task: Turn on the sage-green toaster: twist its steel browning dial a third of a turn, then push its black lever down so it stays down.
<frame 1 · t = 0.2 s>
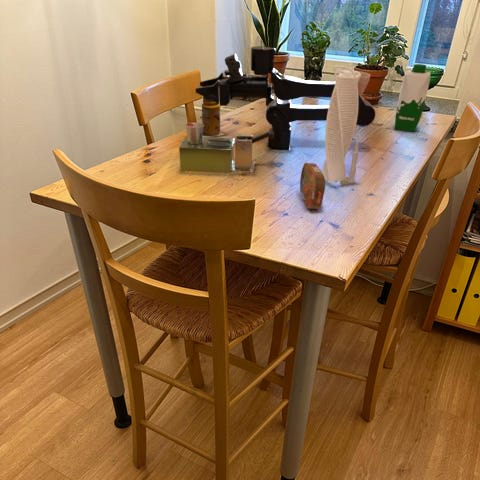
hand: (197, 87, 137), 17 cm above the table, tool horizontal, fingers open, 9 cm apart
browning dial: (194, 132, 126), point 9 cm above the table, hinge at 0.0°
toaster slots: (218, 168, 131), resting on toaster
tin: (310, 202, 114), on the table
condiment: (209, 134, 157), on the table
toaster: (208, 167, 131), on the table
toaster lever: (256, 139, 125), point 8 cm above the table, hinge at 24.0°
milk carton: (405, 129, 167), on the table
lever bracket: (243, 169, 131), on the table
ceramic jug: (347, 114, 181), on the table
skyscraper: (333, 181, 126), on the table
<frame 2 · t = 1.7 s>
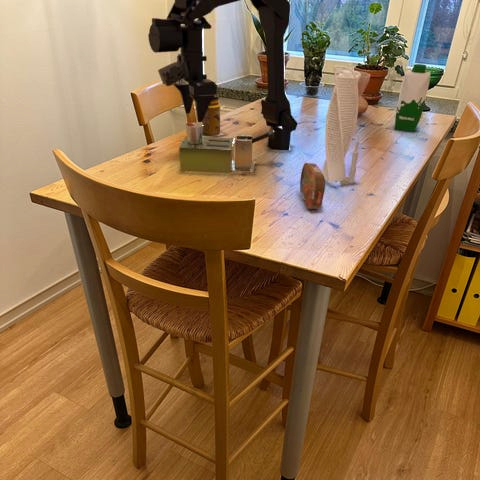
hand: (193, 117, 123), 13 cm above the table, tool pointing down, fingers open, 9 cm apart
nothing on the table moved.
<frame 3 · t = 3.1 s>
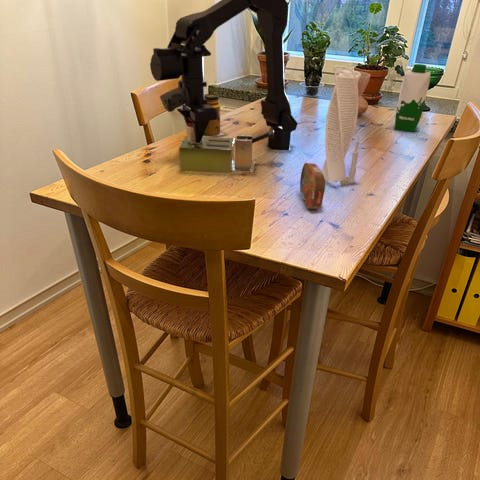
hand: (194, 140, 127), 8 cm above the table, tool pointing down, fingers closed on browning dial, 4 cm apart
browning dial: (194, 132, 126), point 9 cm above the table, hinge at 0.0°, touching gripper
everything else where it was.
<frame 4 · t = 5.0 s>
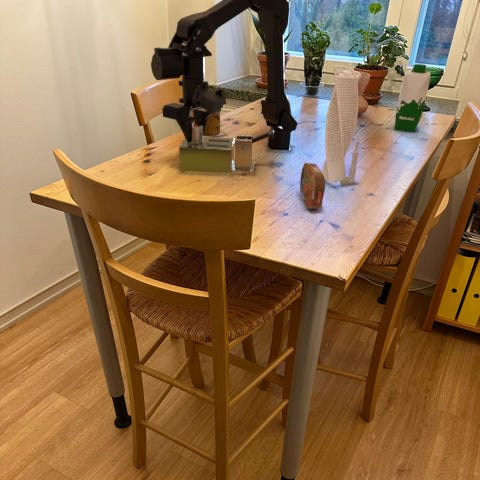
hand: (194, 140, 127), 7 cm above the table, tool pointing down, fingers closed on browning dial, 4 cm apart
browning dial: (194, 132, 126), point 9 cm above the table, hinge at 120.6°, touching gripper
everything else where it was.
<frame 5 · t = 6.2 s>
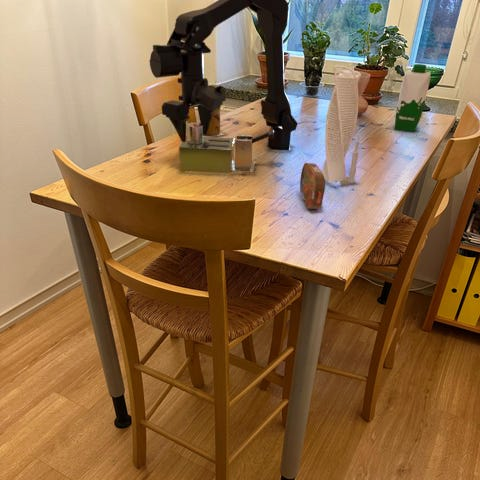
hand: (194, 137, 126), 8 cm above the table, tool pointing down, fingers open, 9 cm apart
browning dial: (194, 132, 126), point 9 cm above the table, hinge at 120.5°
everything else where it was.
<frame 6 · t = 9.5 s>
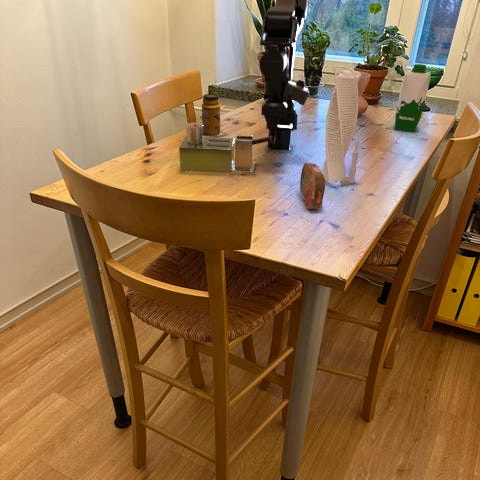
hand: (272, 135, 124), 10 cm above the table, tool pointing down, fingers closed, pressing on toaster lever
toaster lever: (256, 141, 126), point 8 cm above the table, hinge at 14.2°, touching gripper
everything else where it was.
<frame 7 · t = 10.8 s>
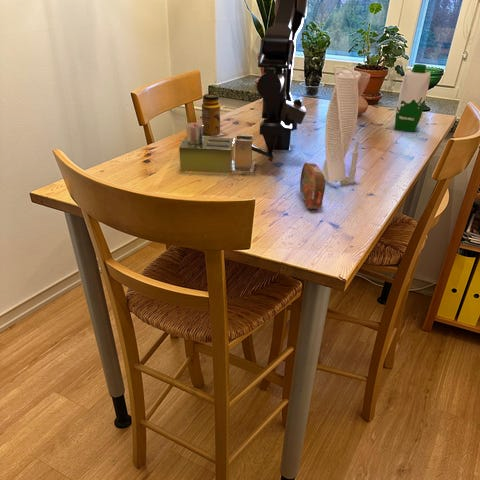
hand: (270, 152, 127), 5 cm above the table, tool pointing down, fingers closed, pressing on toaster lever
toaster lever: (256, 149, 127), point 6 cm above the table, hinge at -19.6°, touching gripper
everything else where it was.
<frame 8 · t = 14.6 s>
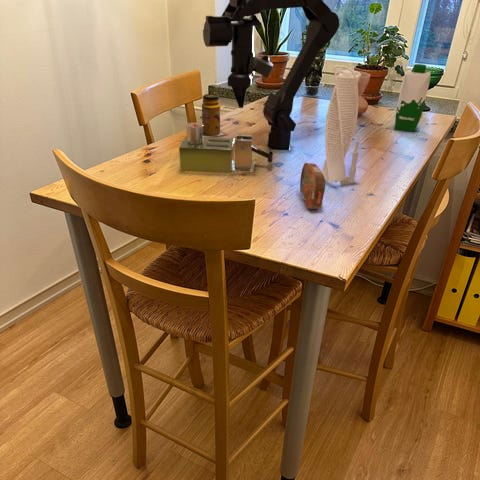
hand: (241, 107, 134), 13 cm above the table, tool pointing down, fingers closed
toaster lever: (255, 150, 127), point 6 cm above the table, hinge at -22.8°
everything else where it was.
at the end: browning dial at +120° (first picture: +0°); toaster lever at -23° (first picture: +24°) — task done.
